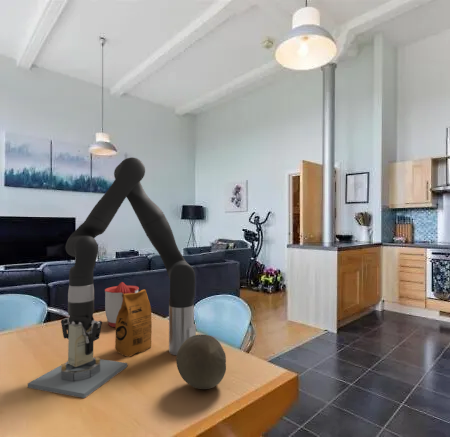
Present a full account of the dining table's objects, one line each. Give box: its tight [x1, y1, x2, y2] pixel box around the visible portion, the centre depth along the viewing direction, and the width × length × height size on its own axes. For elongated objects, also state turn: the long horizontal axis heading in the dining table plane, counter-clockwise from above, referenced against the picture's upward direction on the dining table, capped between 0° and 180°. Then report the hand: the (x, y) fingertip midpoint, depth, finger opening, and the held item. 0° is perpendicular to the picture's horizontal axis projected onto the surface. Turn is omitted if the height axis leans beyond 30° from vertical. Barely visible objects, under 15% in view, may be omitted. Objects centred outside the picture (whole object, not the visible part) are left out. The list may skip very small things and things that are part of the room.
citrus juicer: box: [104, 281, 140, 328], centre depth 150 cm, size 16×17×20 cm
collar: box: [60, 356, 101, 382], centre depth 99 cm, size 11×11×3 cm
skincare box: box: [67, 324, 95, 367], centre depth 99 cm, size 6×4×12 cm
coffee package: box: [114, 289, 153, 357], centre depth 120 cm, size 10×12×22 cm
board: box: [27, 358, 128, 399], centre depth 99 cm, size 20×20×1 cm
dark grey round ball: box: [175, 334, 227, 390], centre depth 92 cm, size 14×14×15 cm
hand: (81, 352), depth 99 cm, fingers closed on skincare box, 5 cm apart
